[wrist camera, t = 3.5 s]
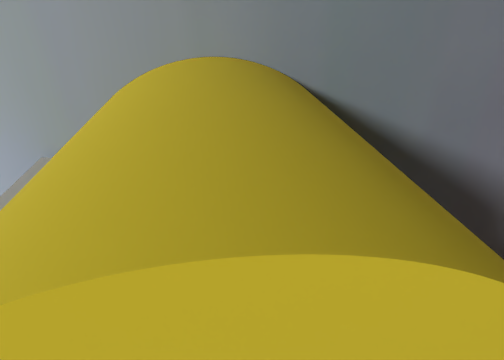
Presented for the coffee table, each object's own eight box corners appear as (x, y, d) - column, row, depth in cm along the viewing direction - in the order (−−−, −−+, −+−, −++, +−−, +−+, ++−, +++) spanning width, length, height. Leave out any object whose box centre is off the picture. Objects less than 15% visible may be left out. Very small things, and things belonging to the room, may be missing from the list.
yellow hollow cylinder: (291, 305, 16) (381, 625, 8) (65, 272, 14) (-151, 690, 5) (392, 107, 12) (802, 338, 4) (96, 10, 10) (-599, 57, 1)
